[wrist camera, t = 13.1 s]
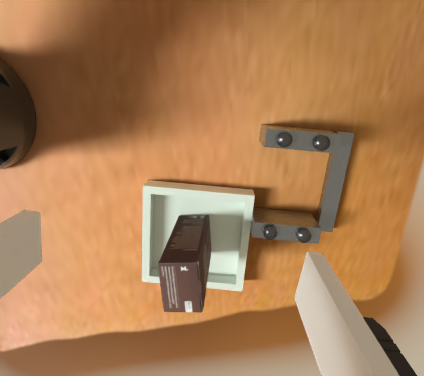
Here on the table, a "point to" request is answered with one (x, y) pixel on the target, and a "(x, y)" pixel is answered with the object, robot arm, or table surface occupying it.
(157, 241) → the tray
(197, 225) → the box
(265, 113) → the table surface
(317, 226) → the hitch bracket
